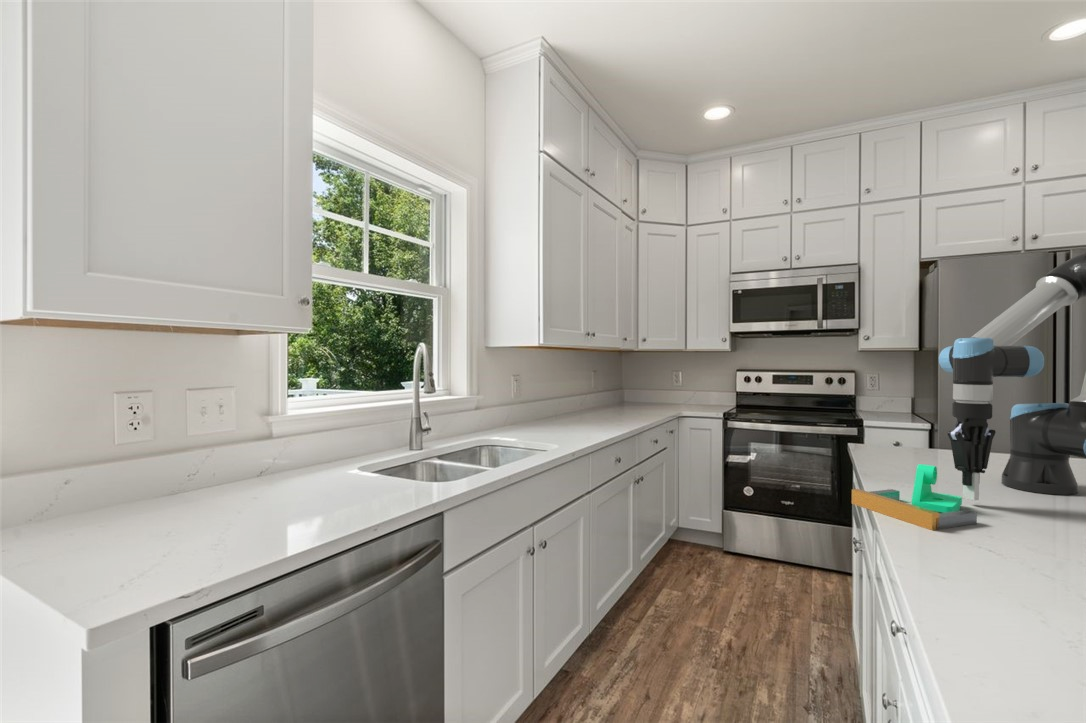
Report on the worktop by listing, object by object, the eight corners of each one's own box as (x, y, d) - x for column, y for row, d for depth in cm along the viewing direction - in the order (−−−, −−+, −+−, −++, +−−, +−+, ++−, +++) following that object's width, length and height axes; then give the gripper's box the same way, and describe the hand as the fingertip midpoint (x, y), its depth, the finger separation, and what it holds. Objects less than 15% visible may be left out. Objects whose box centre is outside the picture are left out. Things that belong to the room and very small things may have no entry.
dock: (892, 499, 134) (892, 485, 134) (976, 523, 115) (976, 507, 115) (851, 503, 131) (851, 489, 131) (932, 530, 112) (932, 513, 111)
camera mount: (951, 519, 119) (952, 473, 119) (911, 511, 125) (912, 468, 125) (962, 507, 127) (963, 465, 127) (924, 501, 133) (924, 460, 133)
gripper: (975, 399, 133) (973, 492, 134) (936, 401, 130) (935, 496, 130) (1008, 402, 126) (1006, 500, 127) (969, 404, 122) (967, 505, 123)
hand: (970, 498), depth 128 cm, fingers closed
